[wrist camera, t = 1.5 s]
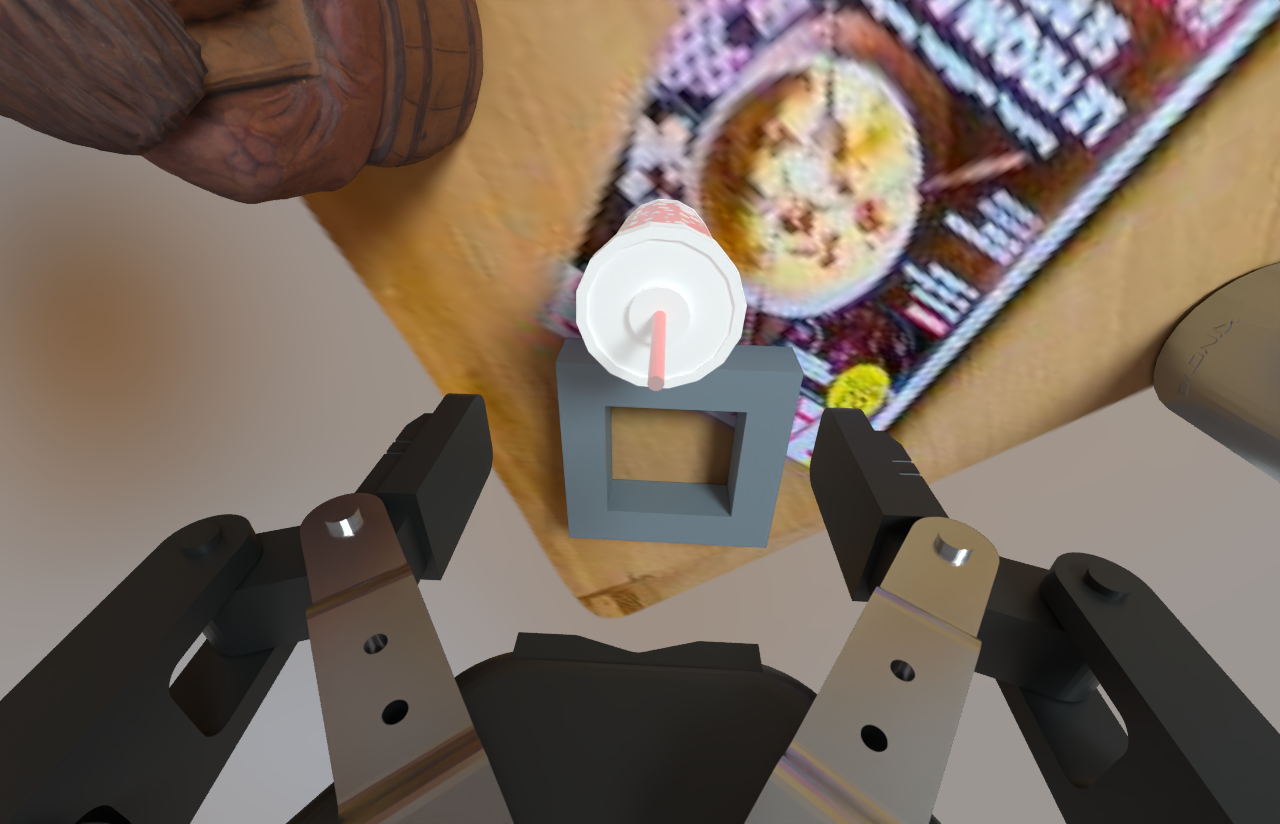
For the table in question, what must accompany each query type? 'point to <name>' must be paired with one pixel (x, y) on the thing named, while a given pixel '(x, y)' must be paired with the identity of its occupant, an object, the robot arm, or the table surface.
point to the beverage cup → (661, 299)
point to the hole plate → (672, 510)
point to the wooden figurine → (246, 84)
